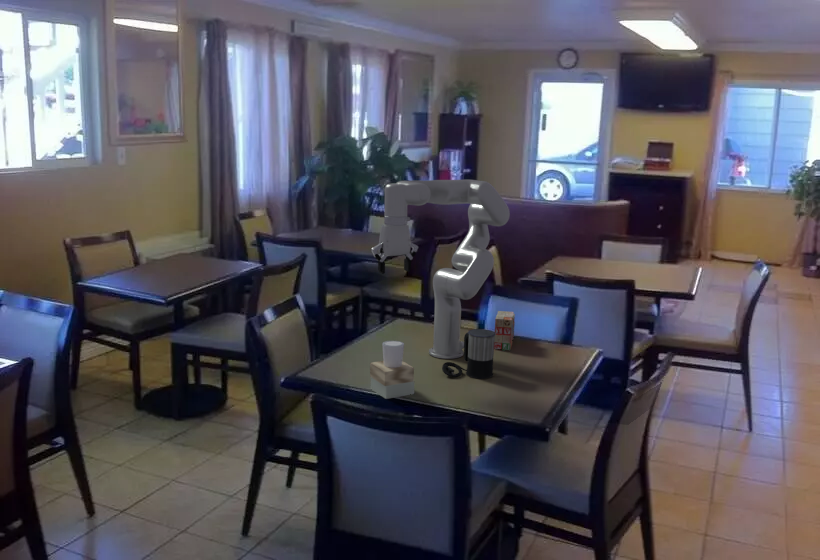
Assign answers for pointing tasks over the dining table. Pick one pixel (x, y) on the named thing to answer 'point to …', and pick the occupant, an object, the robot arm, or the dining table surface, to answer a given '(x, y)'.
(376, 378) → the tower top
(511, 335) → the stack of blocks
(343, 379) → the dining table surface
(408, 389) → the tower bottom
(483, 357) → the milk frother
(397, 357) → the white cylinder
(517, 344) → the dining table surface
